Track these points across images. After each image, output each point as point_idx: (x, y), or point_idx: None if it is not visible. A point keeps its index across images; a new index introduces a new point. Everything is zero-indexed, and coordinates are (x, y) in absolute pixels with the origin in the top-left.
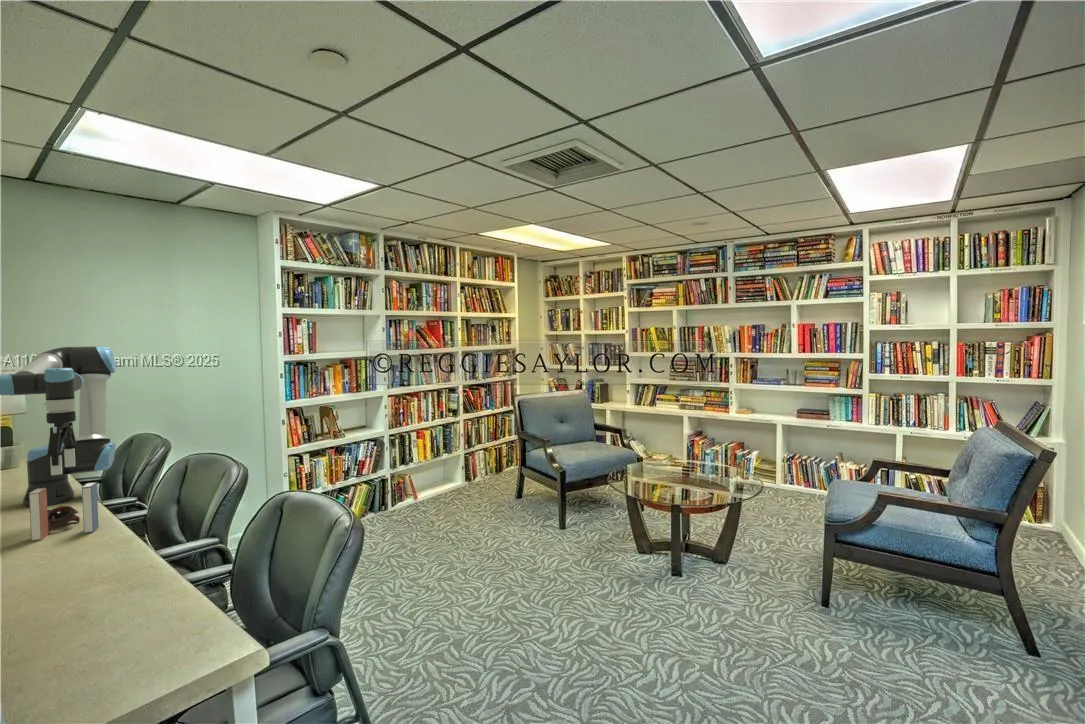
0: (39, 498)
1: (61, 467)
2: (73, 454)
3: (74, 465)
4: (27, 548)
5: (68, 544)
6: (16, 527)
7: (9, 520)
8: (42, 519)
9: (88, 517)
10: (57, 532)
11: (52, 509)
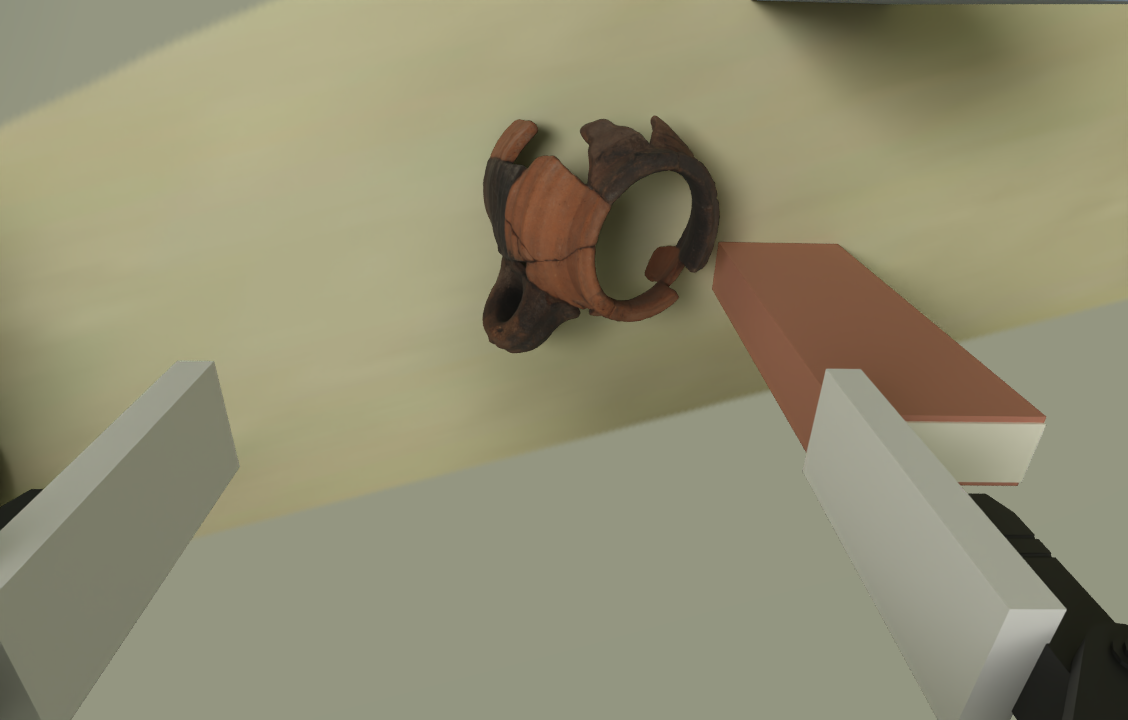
0: (1002, 382)
1: (898, 429)
2: (89, 508)
3: (208, 369)
4: (969, 269)
5: (1098, 47)
6: (423, 450)
7: (235, 524)
8: (862, 292)
9: None
10: None
11: (601, 303)
